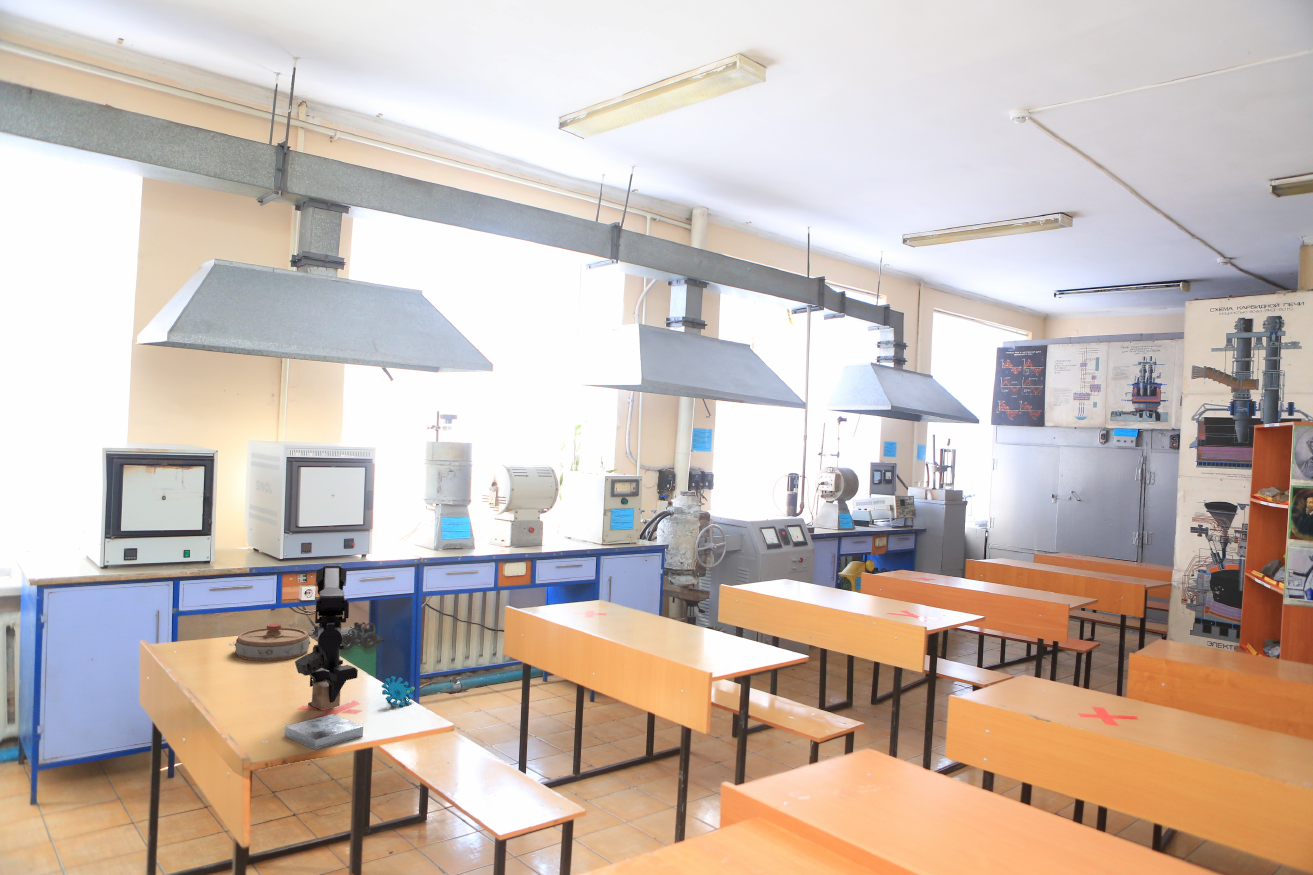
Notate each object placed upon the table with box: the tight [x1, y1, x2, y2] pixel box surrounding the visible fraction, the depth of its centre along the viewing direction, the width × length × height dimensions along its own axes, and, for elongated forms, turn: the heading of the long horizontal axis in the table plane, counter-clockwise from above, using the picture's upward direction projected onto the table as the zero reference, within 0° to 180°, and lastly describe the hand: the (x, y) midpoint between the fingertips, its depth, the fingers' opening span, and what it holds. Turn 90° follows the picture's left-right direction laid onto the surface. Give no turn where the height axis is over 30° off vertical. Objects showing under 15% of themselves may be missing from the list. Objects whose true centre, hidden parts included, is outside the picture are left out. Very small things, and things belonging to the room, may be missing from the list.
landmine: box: [234, 623, 311, 662], centre depth 301 cm, size 24×24×10 cm
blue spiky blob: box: [381, 675, 415, 708], centre depth 254 cm, size 11×6×10 cm
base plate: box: [284, 713, 364, 751], centre depth 223 cm, size 14×14×2 cm
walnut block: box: [311, 681, 341, 711], centre depth 224 cm, size 5×5×6 cm
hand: (325, 699), depth 224 cm, fingers closed on walnut block, 5 cm apart
